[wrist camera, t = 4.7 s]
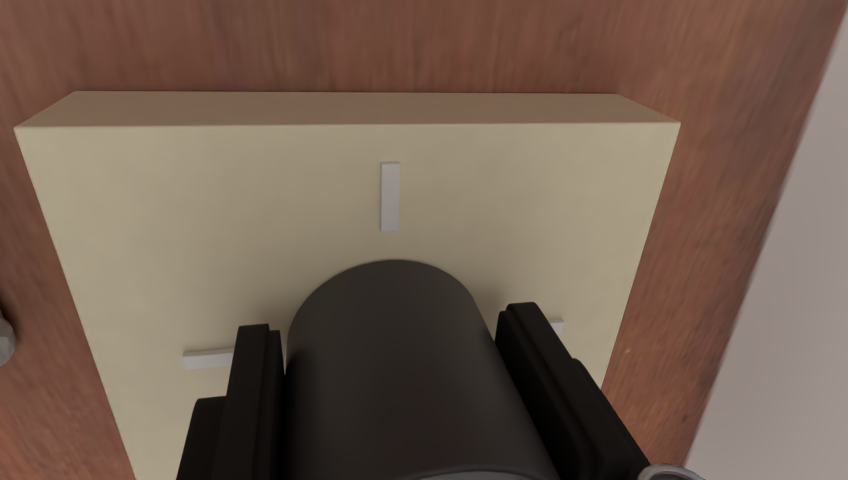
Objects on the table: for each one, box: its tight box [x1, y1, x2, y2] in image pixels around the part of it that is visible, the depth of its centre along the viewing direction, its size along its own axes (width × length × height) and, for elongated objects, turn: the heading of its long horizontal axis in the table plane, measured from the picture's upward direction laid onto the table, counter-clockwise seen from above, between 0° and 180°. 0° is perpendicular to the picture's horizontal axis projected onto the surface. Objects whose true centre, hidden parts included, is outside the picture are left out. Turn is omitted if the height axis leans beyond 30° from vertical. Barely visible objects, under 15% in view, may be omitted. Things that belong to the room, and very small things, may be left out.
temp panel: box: [14, 91, 681, 480], centre depth 13 cm, size 12×10×3 cm
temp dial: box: [280, 260, 561, 480], centre depth 9 cm, size 4×4×5 cm
